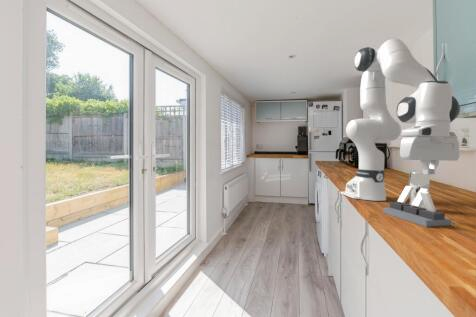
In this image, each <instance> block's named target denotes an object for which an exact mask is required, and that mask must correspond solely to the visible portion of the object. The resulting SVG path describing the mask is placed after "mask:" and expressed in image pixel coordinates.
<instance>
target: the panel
mask: <svg viewBox="0 0 476 317" xmlns="http://www.w3.org/2000/svg"><path fill="white" fill-rule="evenodd" d="M382 209H383V210H382V211H383V212H382V213H383V214H385V215H389V216H392V217H395V218H398V219H400V220H404V221H408V222H409V223H410V222H411V223H413V224H416V225H419V226H422V227H425V228H429V227H430V228H431V227H448V226H452V218H448V217H445V216H446V213H444V212H441V211H437V210H436V211H435V212H431V211H427V210H426V209H425V208H421V207H420V208H418V207H414V206H411V205H410V204H409V203H406V202H405V204H403V203H399V202H398V201H390V202H389V207H387V206H386V207H383V208H382Z"/></svg>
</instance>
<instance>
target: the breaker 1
mask: <svg viewBox="0 0 476 317" xmlns="http://www.w3.org/2000/svg"><path fill="white" fill-rule="evenodd" d="M412 190H413V187H412V186H409V185H405V186H404V189H403V190H402V192H401V194H400V195H399V197H398V199H397V202H399V203H403V204H405V203H406V202H407V200H408V198H410V193H411V192H412Z"/></svg>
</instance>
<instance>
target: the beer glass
mask: <svg viewBox="0 0 476 317" xmlns="http://www.w3.org/2000/svg"><path fill="white" fill-rule="evenodd" d="M430 179H431V178H430V174H429V175H426V174H423V171H422V172H421V171H410V172H409V174H408V185H407V186H412V187H413V190H412V192H411V193H410V195H409V203H408V204H410V205H411V206H412V203H413V201H414V199H415V198H416V196H417V194H418V192H419V191H420V189H421V188H423V189H428V190H429V189H430V181H431V180H430ZM429 191H430V190H429ZM420 207H421V208H425V209H426V207H425V205H424V202H423V203H422V205H421V206H420Z"/></svg>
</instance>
